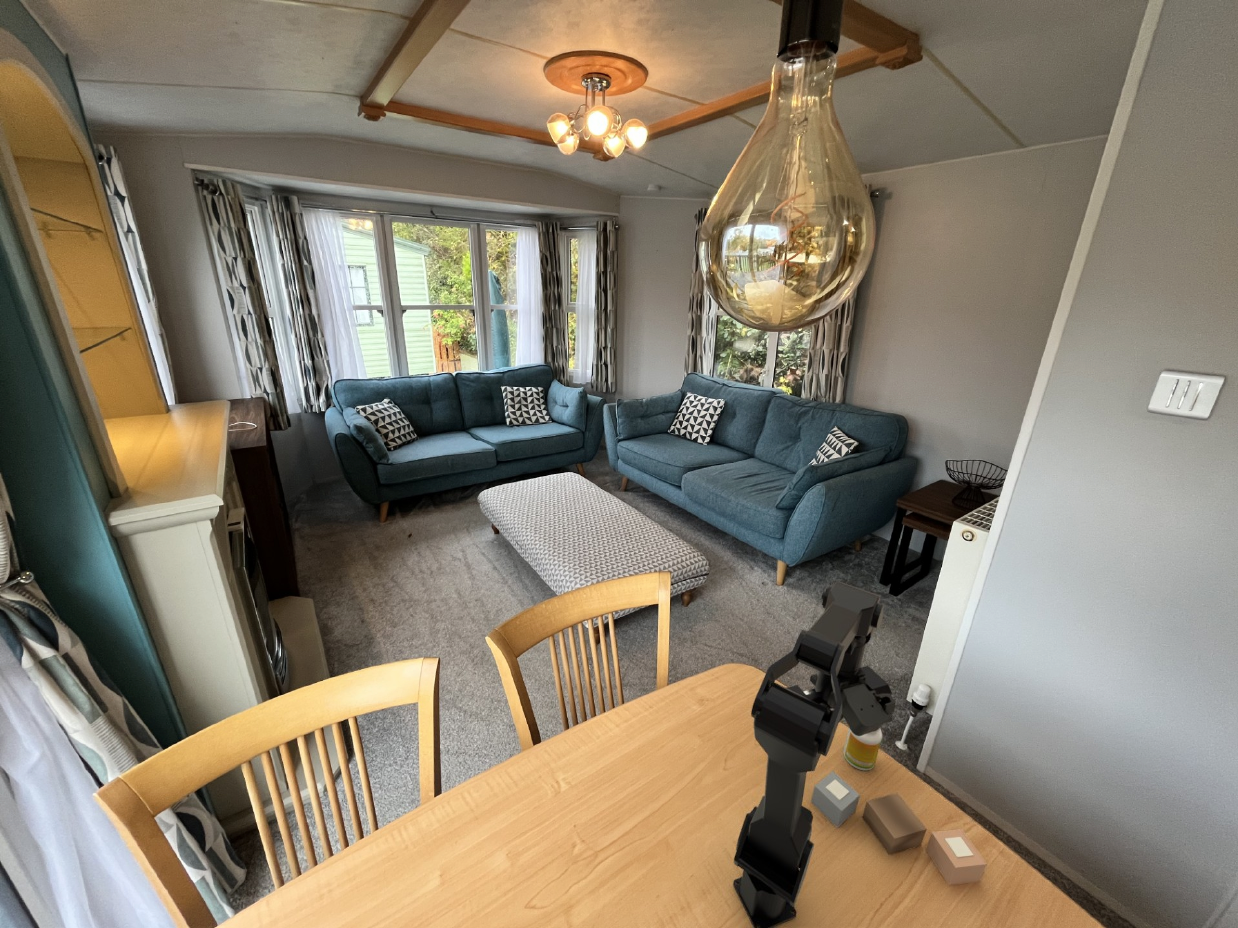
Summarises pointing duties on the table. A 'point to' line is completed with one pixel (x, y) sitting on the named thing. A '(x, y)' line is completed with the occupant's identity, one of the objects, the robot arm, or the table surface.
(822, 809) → the grey cream-patch block
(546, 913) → the table surface
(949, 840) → the tan cream-patch box
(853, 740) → the supplement bottle
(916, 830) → the walnut block
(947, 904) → the table surface
